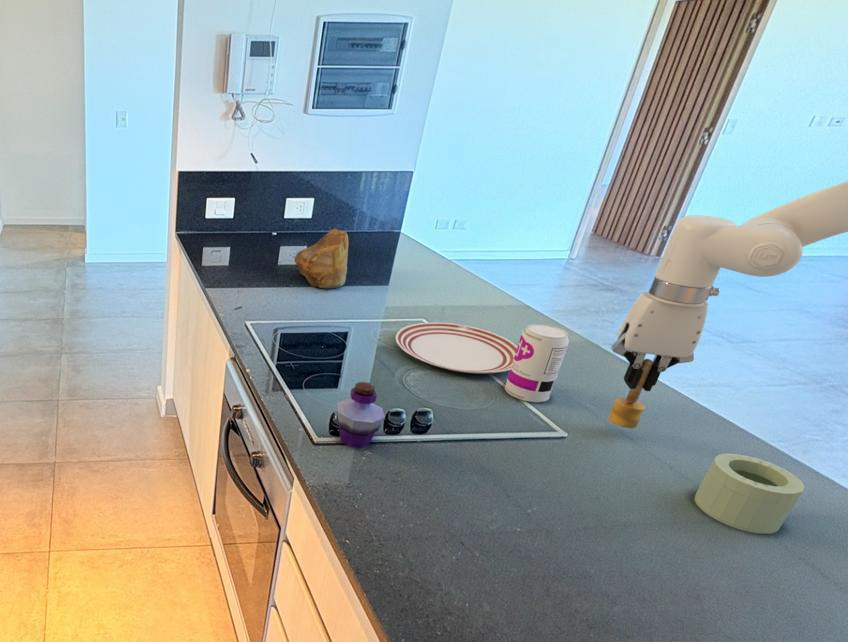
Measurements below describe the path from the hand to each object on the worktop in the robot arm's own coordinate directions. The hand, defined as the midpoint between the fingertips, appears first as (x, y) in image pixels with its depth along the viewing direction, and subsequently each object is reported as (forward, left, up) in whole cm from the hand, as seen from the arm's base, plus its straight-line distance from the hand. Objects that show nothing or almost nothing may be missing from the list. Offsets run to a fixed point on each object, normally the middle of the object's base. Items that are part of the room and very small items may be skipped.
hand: (637, 386), depth 112 cm
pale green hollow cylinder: (-10, +20, -11) cm, 25 cm away
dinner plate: (+25, -28, -11) cm, 39 cm away
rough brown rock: (+60, -76, -11) cm, 97 cm away
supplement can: (+13, -12, -11) cm, 21 cm away
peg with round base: (0, 0, -8) cm, 8 cm away
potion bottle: (+47, +19, -11) cm, 52 cm away
